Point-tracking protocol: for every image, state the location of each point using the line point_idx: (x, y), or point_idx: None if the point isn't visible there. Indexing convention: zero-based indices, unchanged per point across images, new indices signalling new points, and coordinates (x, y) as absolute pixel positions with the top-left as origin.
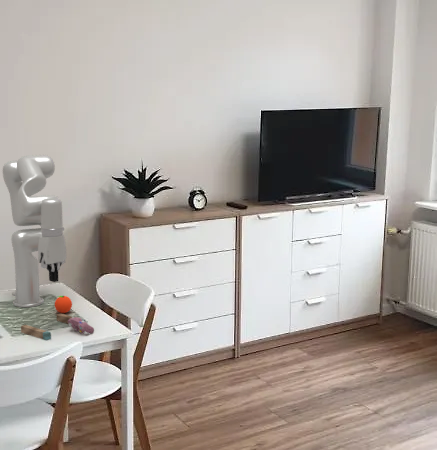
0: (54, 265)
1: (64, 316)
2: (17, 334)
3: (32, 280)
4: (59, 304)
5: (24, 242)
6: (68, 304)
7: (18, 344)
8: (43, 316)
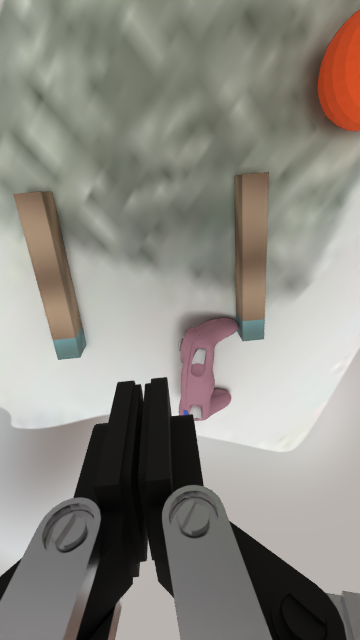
0: (206, 586)
1: (245, 233)
2: (2, 204)
3: None
4: (335, 90)
5: None
6: None
7: None
8: (240, 50)
